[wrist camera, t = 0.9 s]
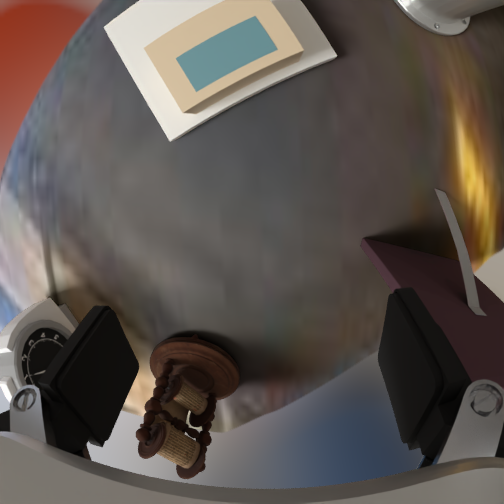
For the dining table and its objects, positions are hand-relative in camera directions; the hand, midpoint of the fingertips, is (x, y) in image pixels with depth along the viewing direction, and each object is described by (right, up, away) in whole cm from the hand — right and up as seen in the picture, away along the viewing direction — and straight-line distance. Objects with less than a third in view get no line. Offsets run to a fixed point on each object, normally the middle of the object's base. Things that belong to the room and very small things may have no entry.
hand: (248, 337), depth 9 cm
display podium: (-4, +27, +16) cm, 31 cm away
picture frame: (+23, +6, +24) cm, 34 cm away
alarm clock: (-33, -11, +36) cm, 50 cm away
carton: (-2, +23, +16) cm, 28 cm away
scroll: (-9, -16, +36) cm, 41 cm away
